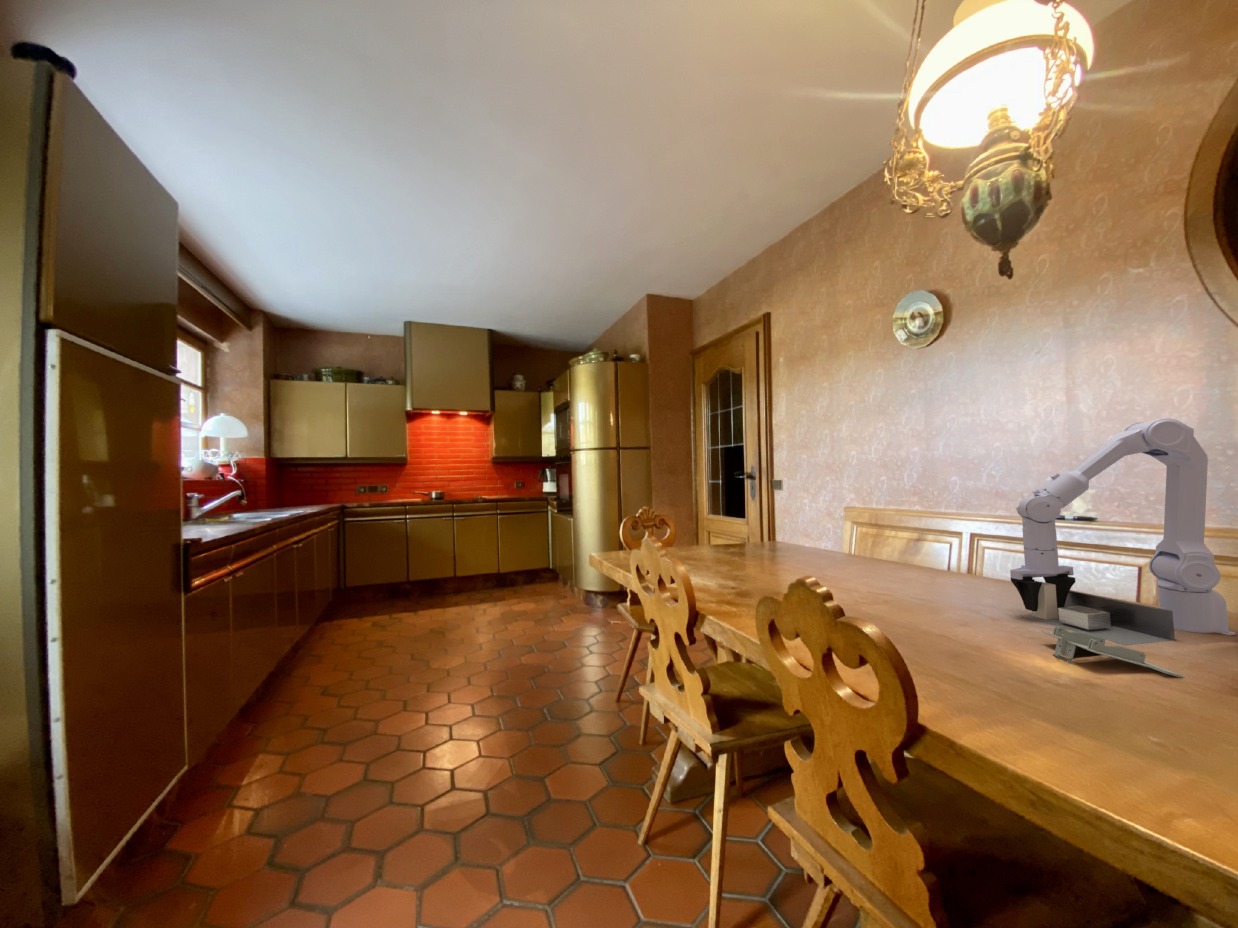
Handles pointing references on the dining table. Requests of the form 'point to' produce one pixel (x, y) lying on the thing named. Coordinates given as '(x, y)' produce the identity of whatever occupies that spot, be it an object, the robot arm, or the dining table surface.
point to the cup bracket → (1115, 615)
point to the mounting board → (1105, 632)
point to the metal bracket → (1097, 648)
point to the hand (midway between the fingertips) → (1044, 608)
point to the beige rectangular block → (1047, 602)
